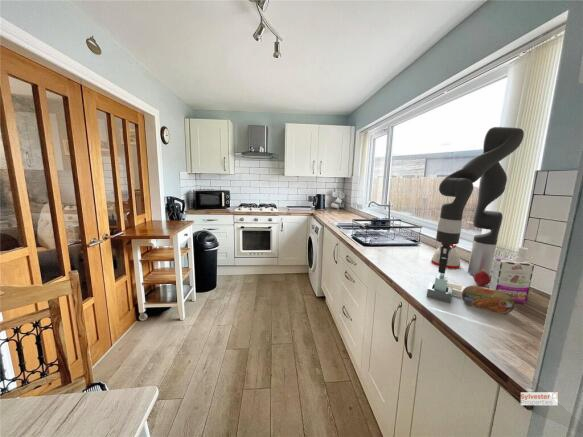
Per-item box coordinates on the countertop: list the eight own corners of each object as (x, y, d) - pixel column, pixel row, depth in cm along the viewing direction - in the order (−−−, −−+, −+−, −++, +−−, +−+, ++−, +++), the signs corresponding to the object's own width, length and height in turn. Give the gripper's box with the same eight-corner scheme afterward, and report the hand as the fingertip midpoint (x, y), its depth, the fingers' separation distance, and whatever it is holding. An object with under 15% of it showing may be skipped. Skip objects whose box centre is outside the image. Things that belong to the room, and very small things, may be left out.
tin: (460, 305, 90) (464, 285, 89) (459, 301, 93) (463, 281, 92) (512, 317, 83) (517, 295, 82) (509, 313, 86) (514, 292, 85)
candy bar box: (517, 298, 98) (526, 260, 95) (526, 304, 93) (535, 264, 91) (486, 294, 101) (494, 257, 98) (494, 299, 96) (502, 261, 93)
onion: (491, 290, 105) (494, 273, 103) (476, 288, 106) (480, 271, 104) (483, 284, 110) (486, 268, 109) (469, 282, 111) (472, 266, 110)
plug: (445, 295, 96) (448, 274, 95) (444, 299, 93) (448, 277, 91) (433, 292, 99) (436, 272, 97) (432, 296, 95) (436, 275, 94)
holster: (443, 287, 105) (444, 281, 104) (463, 292, 101) (464, 286, 100) (442, 293, 99) (443, 286, 99) (463, 299, 95) (464, 292, 95)
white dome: (438, 258, 145) (441, 235, 143) (463, 266, 134) (468, 240, 132) (426, 262, 137) (430, 237, 135) (453, 270, 126) (457, 243, 124)
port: (428, 290, 101) (430, 281, 101) (450, 296, 97) (452, 286, 96) (426, 297, 95) (427, 287, 94) (449, 304, 90) (451, 294, 90)
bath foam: (526, 292, 104) (536, 248, 100) (523, 296, 99) (534, 251, 96) (505, 286, 109) (514, 244, 106) (502, 290, 105) (511, 247, 101)
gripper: (460, 235, 83) (452, 278, 86) (460, 228, 95) (454, 266, 98) (435, 231, 88) (429, 272, 91) (439, 225, 99) (433, 262, 102)
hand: (442, 269), depth 94 cm, fingers open, 8 cm apart
